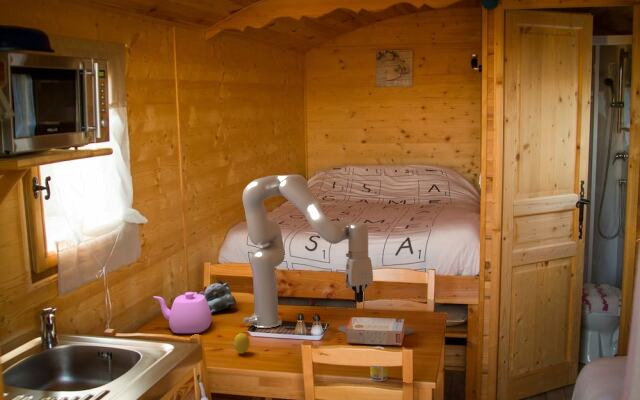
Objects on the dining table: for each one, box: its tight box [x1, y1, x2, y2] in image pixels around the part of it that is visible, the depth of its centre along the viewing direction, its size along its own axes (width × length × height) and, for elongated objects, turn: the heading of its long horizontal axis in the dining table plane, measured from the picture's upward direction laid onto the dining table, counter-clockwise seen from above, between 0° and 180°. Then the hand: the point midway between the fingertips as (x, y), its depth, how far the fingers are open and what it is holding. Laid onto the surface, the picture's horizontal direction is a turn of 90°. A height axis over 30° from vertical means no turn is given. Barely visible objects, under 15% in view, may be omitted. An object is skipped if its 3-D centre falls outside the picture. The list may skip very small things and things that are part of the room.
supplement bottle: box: [369, 346, 388, 382], centre depth 225 cm, size 6×6×10 cm
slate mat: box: [337, 325, 416, 336], centre depth 272 cm, size 23×20×1 cm
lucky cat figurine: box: [198, 280, 237, 314], centre depth 303 cm, size 15×12×14 cm
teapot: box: [152, 291, 213, 334], centre depth 280 cm, size 23×21×15 cm
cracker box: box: [345, 316, 406, 346], centre depth 262 cm, size 14×6×21 cm
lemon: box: [233, 332, 250, 355], centre depth 250 cm, size 6×6×8 cm
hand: (359, 301), depth 267 cm, fingers closed
